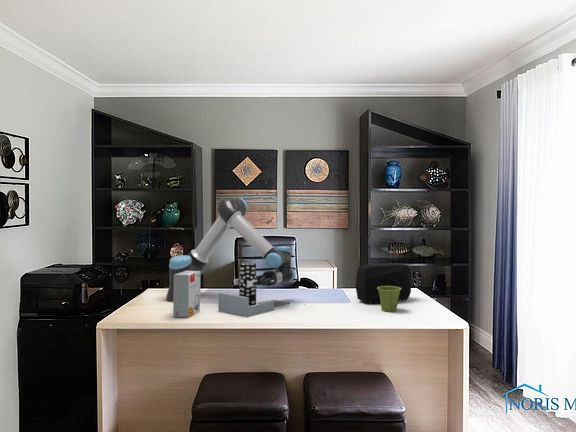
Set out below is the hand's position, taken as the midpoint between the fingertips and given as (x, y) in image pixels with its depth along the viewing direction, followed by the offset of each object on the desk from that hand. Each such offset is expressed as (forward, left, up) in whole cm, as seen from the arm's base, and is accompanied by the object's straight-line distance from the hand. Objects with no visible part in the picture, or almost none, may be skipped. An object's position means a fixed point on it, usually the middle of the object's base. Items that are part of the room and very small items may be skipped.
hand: (241, 283), depth 247 cm
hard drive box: (-17, -20, -14) cm, 30 cm away
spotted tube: (0, +5, -11) cm, 12 cm away
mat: (0, +24, -14) cm, 28 cm away
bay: (0, +4, -14) cm, 15 cm away
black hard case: (+41, +68, -14) cm, 81 cm away
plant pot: (+53, +50, -14) cm, 75 cm away
